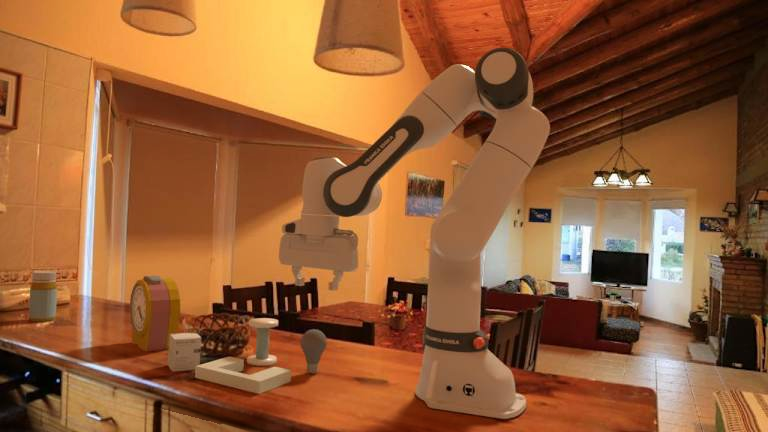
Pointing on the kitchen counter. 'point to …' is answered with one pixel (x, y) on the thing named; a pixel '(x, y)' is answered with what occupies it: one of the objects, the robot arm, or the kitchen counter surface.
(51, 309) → the bottle
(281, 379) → the notched board
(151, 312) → the alarm clock
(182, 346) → the skincare box
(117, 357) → the kitchen counter surface
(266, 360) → the bobbin
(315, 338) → the light bulb
